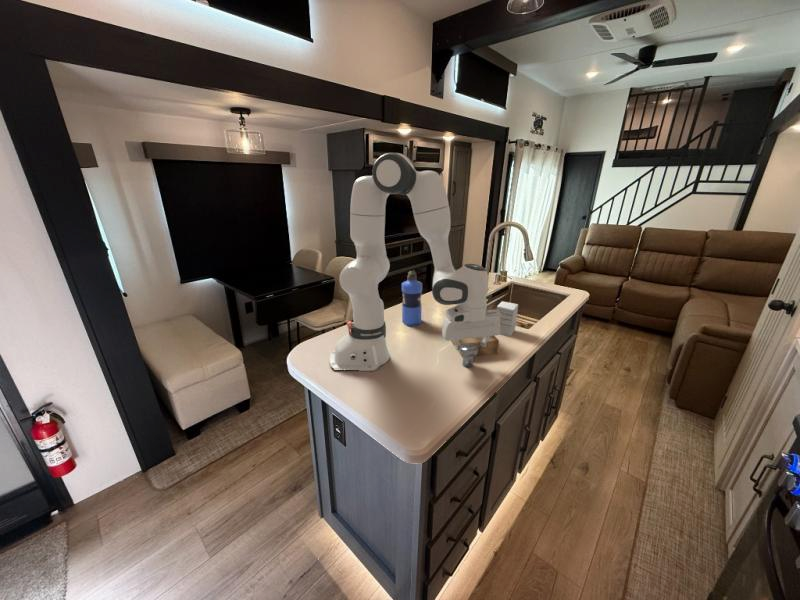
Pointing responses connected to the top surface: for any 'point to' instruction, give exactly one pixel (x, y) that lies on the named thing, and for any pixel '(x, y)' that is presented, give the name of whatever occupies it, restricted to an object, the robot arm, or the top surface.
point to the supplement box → (507, 317)
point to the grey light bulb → (468, 354)
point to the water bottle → (411, 300)
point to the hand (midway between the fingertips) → (470, 347)
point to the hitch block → (488, 350)
